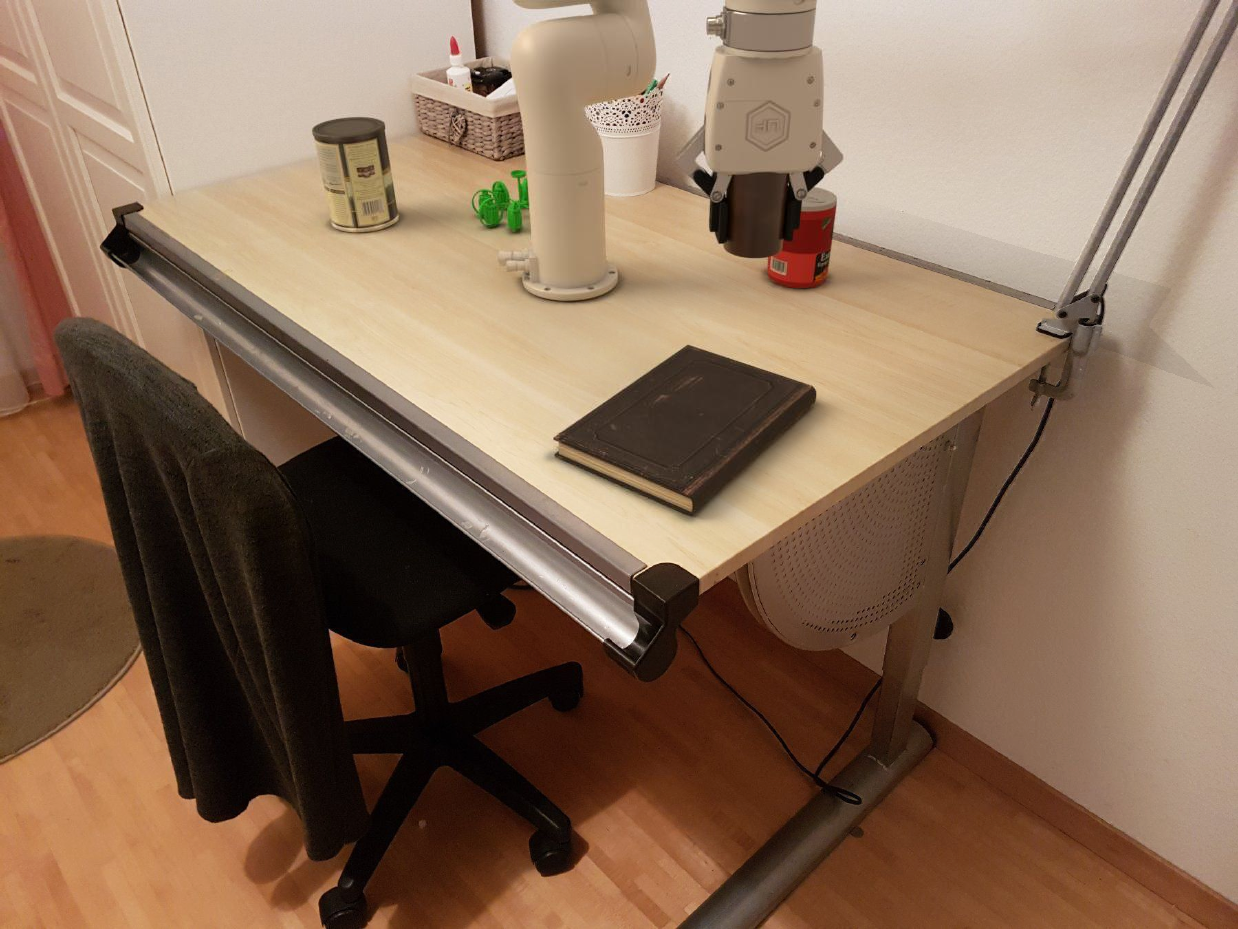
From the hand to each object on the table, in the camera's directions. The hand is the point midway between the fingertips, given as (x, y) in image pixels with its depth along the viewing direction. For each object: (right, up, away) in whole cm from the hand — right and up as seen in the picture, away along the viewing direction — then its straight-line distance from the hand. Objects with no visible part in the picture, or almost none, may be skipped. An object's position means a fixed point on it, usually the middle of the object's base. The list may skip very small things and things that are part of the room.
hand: (753, 235), depth 87 cm
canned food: (+11, +3, +35) cm, 36 cm away
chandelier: (-28, +16, +54) cm, 63 cm away
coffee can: (-52, +15, +53) cm, 76 cm away
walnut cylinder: (0, -1, +1) cm, 1 cm away
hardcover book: (-6, -19, +5) cm, 20 cm away
